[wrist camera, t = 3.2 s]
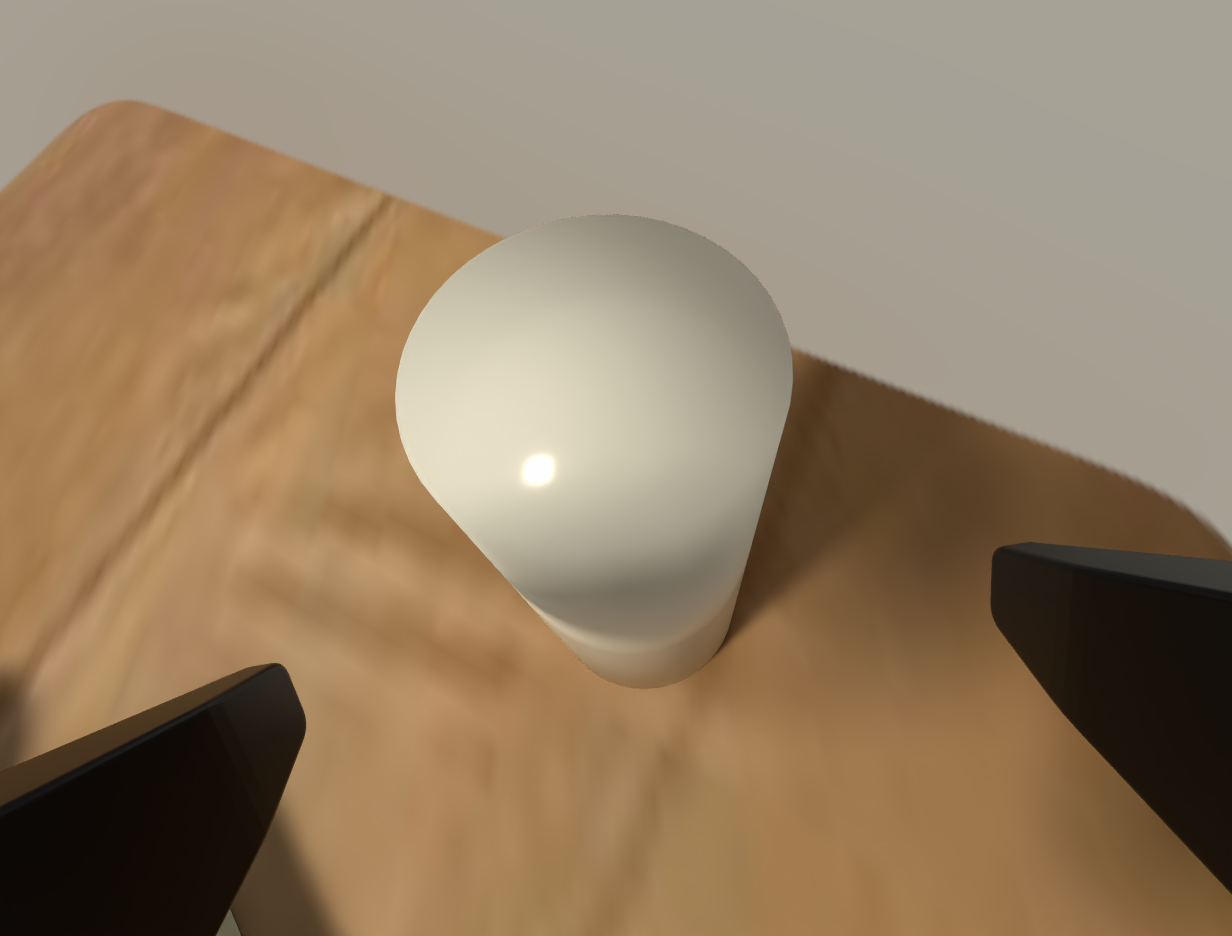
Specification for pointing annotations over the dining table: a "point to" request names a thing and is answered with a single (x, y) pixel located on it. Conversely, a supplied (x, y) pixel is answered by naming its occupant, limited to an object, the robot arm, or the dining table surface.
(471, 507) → the white rounded tapered cylinder
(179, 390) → the dining table surface
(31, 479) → the dining table surface
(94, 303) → the dining table surface
